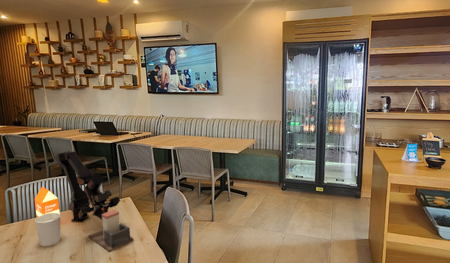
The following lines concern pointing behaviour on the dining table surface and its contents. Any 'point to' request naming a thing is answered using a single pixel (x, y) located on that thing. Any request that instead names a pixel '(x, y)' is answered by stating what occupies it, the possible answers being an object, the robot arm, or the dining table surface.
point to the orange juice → (46, 203)
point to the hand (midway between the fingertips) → (107, 222)
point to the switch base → (112, 238)
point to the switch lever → (111, 221)
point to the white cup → (48, 229)
